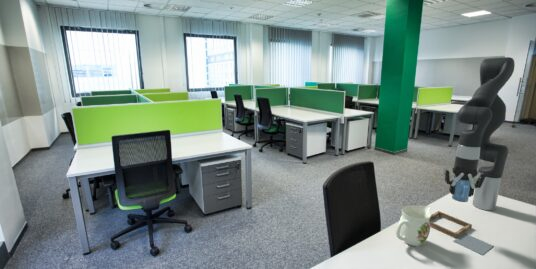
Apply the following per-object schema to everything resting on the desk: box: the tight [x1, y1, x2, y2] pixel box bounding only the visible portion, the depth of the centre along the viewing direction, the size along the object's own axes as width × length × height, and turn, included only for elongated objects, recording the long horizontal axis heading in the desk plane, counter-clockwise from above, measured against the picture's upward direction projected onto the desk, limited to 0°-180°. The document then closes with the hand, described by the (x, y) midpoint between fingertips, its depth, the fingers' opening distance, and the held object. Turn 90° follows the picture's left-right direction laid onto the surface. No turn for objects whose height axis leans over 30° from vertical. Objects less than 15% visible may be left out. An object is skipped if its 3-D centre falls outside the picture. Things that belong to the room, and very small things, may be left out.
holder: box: [429, 210, 473, 239], centre depth 120 cm, size 14×14×2 cm
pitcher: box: [395, 205, 432, 247], centre depth 107 cm, size 11×18×14 cm, turn 116°
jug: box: [451, 177, 471, 203], centre depth 109 cm, size 8×6×9 cm
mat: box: [453, 233, 495, 256], centre depth 107 cm, size 10×10×1 cm
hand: (460, 194), depth 111 cm, fingers closed on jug, 5 cm apart
